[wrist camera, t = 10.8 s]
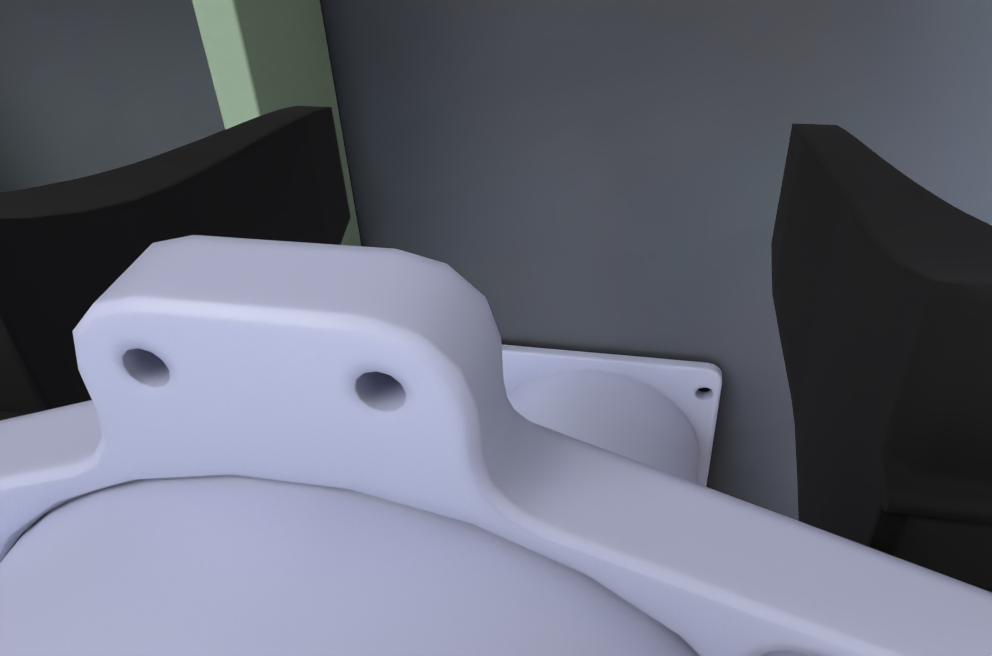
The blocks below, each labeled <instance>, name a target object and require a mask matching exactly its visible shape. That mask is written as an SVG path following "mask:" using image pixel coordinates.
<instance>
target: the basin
mask: <svg viewBox="0 0 992 656" xmlns="http://www.w3.org/2000/svg"><path fill="white" fill-rule="evenodd" d="M192 3H193V7H194V11H195V15H196V19H197V22H198V26H199V30H200V34H201V38H202V42H203V46H204V49H205V53H206V57H207V61H208V65H209V69H210V73H211V76H212V80H213V84H214V88H215V92H216V96H217V100H218V103H219V107H220V111H221V115H222V119H223V123H224V127H225V130H226V129H228V128H231V127H233V126H236V125H238V124H241V123H243V122H246V121H248V120H251V119H253V118H256V117H259V116H261V115H264V114H267V113H270V112H273V111H276V110H279V109H283V108H287V107H293V106H317V107H332V113H333V119H334V125H335V130H336V136H337V142H338V147H339V153H340V159H341V165H342V170H343V176H344V182H345V188H346V193H347V199H348V205H349V211H350V216H351V218H350V220H349V223H348V226H347V229H346V231H345V234H344V237H343V239H342V242H341V244H340V245H348V246H361V241H360V235H359V229H358V223H357V217H356V212H355V206H354V200H353V194H352V188H351V182H350V176H349V170H348V164H347V159H346V153H345V147H344V141H343V135H342V129H341V123H340V117H339V111H338V105H337V100H336V94H335V88H334V82H333V76H332V70H331V64H330V58H329V52H328V47H327V41H326V35H325V29H324V23H323V17H322V11H321V5H320V0H192Z"/></svg>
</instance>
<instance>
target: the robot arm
mask: <svg viewBox="0 0 992 656" xmlns="http://www.w3.org/2000/svg"><path fill="white" fill-rule="evenodd" d="M350 218H351V216H350V211H349V205H348V199H347V193H346V188H345V182H344V176H343V170H342V165H341V159H340V153H339V147H338V142H337V136H336V130H335V125H334V119H333V113H332V107H317V106H293V107H287V108H283V109H279V110H276V111H273V112H270V113H267V114H264V115H261V116H259V117H256V118H253V119H251V120H248V121H246V122H243V123H241V124H238V125H236V126H233V127H231V128H228V129H226V130H223V131H221V132H218V133H216V134H213V135H211V136H208V137H206V138H203V139H201V140H198V141H195V142H193V143H190V144H187V145H185V146H182V147H179V148H176V149H174V150H171V151H168V152H166V153H163V154H160V155H157V156H155V157H152V158H149V159H146V160H143V161H140V162H137V163H134V164H131V165H127V166H124V167H121V168H117V169H113V170H110V171H106V172H102V173H99V174H95V175H91V176H87V177H83V178H79V179H74V180H69V181H64V182H59V183H54V184H49V185H43V186H38V187H33V188H28V189H23V190H17V191H11V192H4V193H0V656H992V226H991V225H989V224H987V223H985V222H983V221H981V220H979V219H977V218H975V217H973V216H971V215H969V214H967V213H965V212H963V211H961V210H959V209H957V208H956V207H954V206H952V205H950V204H949V203H947V202H945V201H944V200H942V199H940V198H939V197H937V196H936V195H934V194H932V193H931V192H929V191H928V190H926V189H924V188H923V187H921V186H920V185H918V184H917V183H915V182H914V181H912V180H911V179H910V178H908V177H907V176H905V175H904V174H902V173H901V172H900V171H898V170H897V169H896V168H894V167H893V166H892V165H890V164H889V163H888V162H886V161H885V160H884V159H882V158H881V157H880V156H878V155H877V154H876V153H875V152H873V151H872V150H871V149H869V148H868V147H867V146H866V145H864V144H863V143H862V142H860V141H859V140H858V139H857V138H855V137H854V136H853V135H851V134H850V133H849V132H847V131H846V130H844V129H843V128H841V127H839V126H837V125H817V124H793V125H792V130H791V136H790V142H789V147H788V153H787V159H786V164H785V170H784V176H783V181H782V187H781V193H780V198H779V204H778V210H777V215H776V221H775V227H774V232H773V238H772V290H773V299H774V305H775V311H776V317H777V322H778V328H779V334H780V339H781V344H782V350H783V355H784V361H785V366H786V372H787V377H788V383H789V388H790V393H791V399H792V406H793V414H794V422H795V438H796V458H797V479H798V508H799V521H797V520H795V519H792V518H789V517H786V516H784V515H781V514H778V513H776V512H773V511H770V510H768V509H765V508H762V507H759V506H757V505H754V504H751V503H749V502H746V501H743V500H741V499H738V498H735V497H732V496H730V495H727V494H724V493H722V492H719V491H716V490H714V489H711V488H708V487H706V485H707V478H708V471H709V465H710V458H711V452H712V445H713V439H714V432H715V426H716V419H717V412H718V406H719V399H720V393H721V386H722V372H721V370H720V369H719V367H717V366H716V365H714V364H711V363H706V362H695V361H684V360H672V359H661V358H650V357H638V356H627V355H616V354H604V353H593V352H582V351H570V350H559V349H548V348H536V347H525V346H514V345H502V344H501V336H500V333H499V331H498V328H497V326H496V323H495V320H494V318H493V315H492V312H491V310H490V307H489V304H488V302H487V299H486V297H485V296H484V295H483V294H481V293H480V292H479V291H478V290H477V289H476V288H475V287H473V286H472V285H471V284H470V283H469V282H468V281H466V280H465V279H464V278H463V277H462V276H461V275H460V274H458V273H457V272H456V271H455V270H454V269H453V268H451V267H450V266H449V265H448V264H446V263H443V262H439V261H436V260H433V259H429V258H426V257H423V256H419V255H416V254H412V253H409V252H406V251H402V250H399V249H392V248H378V247H363V246H348V245H340V244H341V242H342V239H343V237H344V234H345V231H346V229H347V226H348V223H349V220H350ZM704 387H705V388H709V389H710V390H709V391H707V392H702V391H699V390H698V389H699V388H704Z"/></svg>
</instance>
